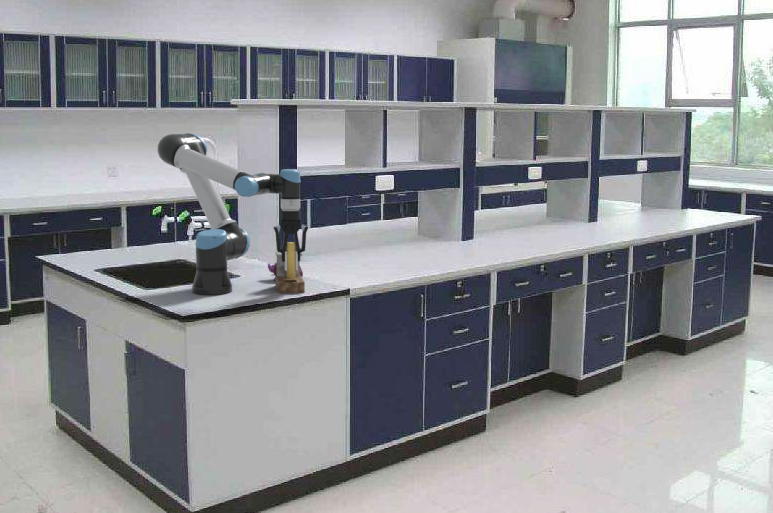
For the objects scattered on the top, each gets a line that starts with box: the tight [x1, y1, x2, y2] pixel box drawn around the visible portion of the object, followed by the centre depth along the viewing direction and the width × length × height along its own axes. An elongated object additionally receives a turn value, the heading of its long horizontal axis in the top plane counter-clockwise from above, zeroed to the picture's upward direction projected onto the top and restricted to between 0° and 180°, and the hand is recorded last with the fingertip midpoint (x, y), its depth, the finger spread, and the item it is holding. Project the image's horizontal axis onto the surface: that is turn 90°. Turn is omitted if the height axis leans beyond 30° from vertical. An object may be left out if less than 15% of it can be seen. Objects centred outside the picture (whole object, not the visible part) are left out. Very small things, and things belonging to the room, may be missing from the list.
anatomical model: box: [267, 261, 304, 281], centre depth 350 cm, size 12×10×15 cm
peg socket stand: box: [274, 251, 306, 294], centre depth 330 cm, size 10×14×14 cm
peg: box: [286, 241, 296, 279], centre depth 326 cm, size 3×3×14 cm
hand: (291, 269), depth 326 cm, fingers closed on peg, 3 cm apart
